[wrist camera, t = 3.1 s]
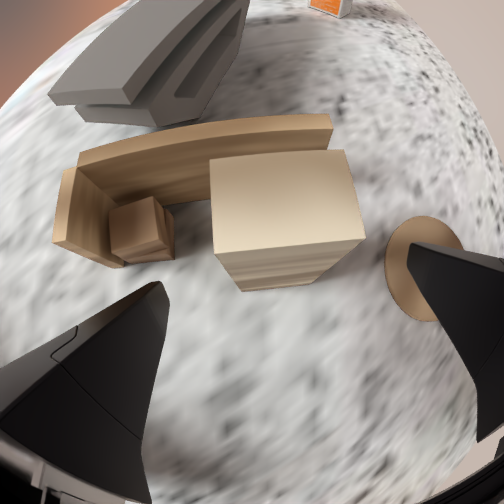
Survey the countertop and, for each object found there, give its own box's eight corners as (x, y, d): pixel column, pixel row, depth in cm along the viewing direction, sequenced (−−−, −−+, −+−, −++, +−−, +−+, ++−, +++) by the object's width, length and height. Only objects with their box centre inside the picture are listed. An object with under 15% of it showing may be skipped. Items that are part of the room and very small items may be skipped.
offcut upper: (169, 247, 19) (158, 239, 17) (125, 260, 19) (111, 253, 17) (162, 208, 20) (152, 195, 18) (121, 221, 20) (108, 211, 18)
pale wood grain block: (309, 284, 20) (365, 238, 9) (241, 291, 20) (213, 253, 9) (302, 239, 21) (343, 149, 10) (237, 245, 21) (209, 159, 10)
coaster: (475, 265, 20) (479, 264, 19) (432, 342, 19) (436, 342, 18) (416, 199, 22) (420, 196, 21) (363, 271, 20) (366, 270, 20)
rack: (323, 246, 21) (354, 205, 13) (112, 268, 21) (52, 242, 13) (310, 176, 22) (328, 113, 15) (115, 201, 23) (66, 156, 15)
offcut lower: (175, 260, 21) (166, 253, 19) (132, 264, 22) (120, 258, 19) (174, 218, 22) (166, 208, 20) (133, 224, 22) (122, 215, 20)
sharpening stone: (201, 27, 29) (189, -33, 19) (253, 29, 29) (250, -35, 18) (105, 162, 24) (47, 94, 13) (171, 174, 23) (121, 88, 13)
